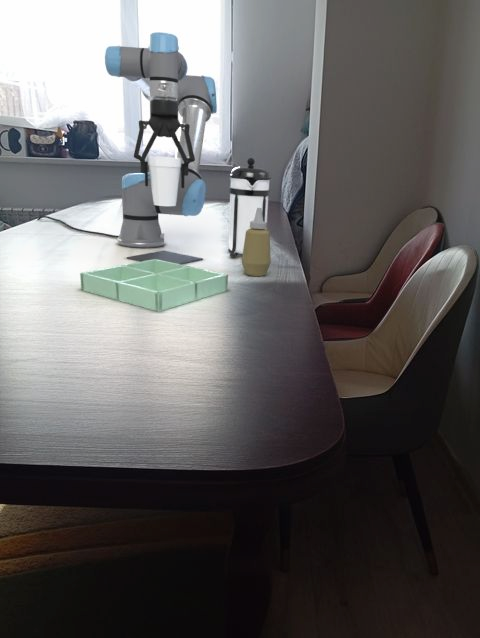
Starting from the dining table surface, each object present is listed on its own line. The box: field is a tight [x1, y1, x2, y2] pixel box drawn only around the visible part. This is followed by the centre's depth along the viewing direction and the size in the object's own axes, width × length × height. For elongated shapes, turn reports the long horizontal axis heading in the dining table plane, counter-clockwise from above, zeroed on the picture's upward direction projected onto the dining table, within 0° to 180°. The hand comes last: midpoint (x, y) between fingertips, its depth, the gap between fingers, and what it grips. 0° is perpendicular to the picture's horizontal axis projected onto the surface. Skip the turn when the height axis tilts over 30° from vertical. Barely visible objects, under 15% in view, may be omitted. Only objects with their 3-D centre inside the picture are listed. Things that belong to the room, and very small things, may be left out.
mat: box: [126, 250, 204, 265], centre depth 155 cm, size 16×16×1 cm
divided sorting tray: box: [79, 259, 229, 313], centre depth 121 cm, size 24×24×4 cm
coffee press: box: [227, 157, 272, 259], centre depth 164 cm, size 17×16×30 cm
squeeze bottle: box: [241, 208, 272, 277], centre depth 140 cm, size 8×8×18 cm
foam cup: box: [146, 155, 181, 206], centre depth 146 cm, size 10×9×13 cm
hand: (164, 186), depth 147 cm, fingers closed on foam cup, 9 cm apart
